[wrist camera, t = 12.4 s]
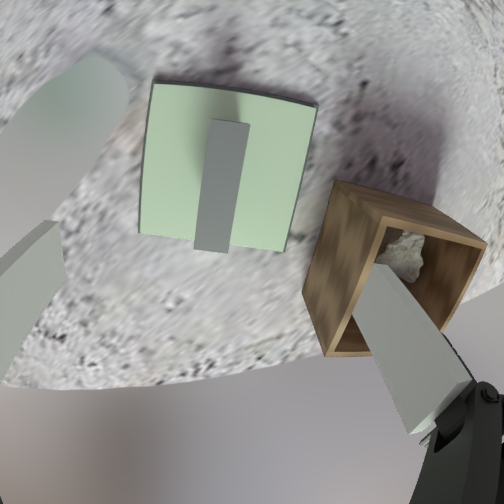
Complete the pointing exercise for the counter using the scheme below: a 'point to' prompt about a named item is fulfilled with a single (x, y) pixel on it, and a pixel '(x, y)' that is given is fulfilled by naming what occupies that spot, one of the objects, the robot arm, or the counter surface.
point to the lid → (222, 167)
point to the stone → (401, 252)
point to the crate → (364, 253)
